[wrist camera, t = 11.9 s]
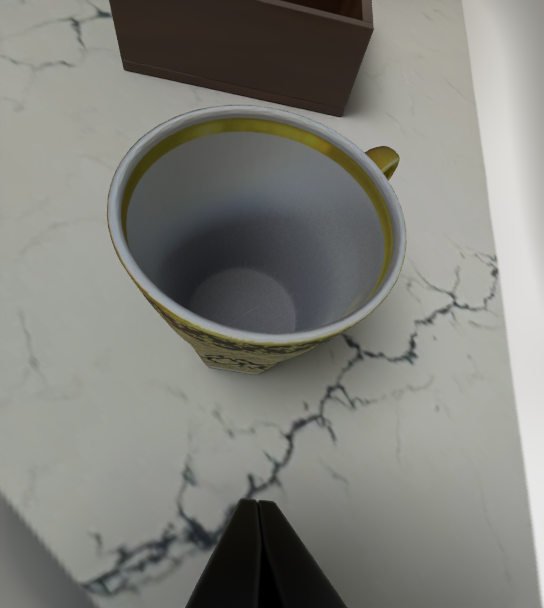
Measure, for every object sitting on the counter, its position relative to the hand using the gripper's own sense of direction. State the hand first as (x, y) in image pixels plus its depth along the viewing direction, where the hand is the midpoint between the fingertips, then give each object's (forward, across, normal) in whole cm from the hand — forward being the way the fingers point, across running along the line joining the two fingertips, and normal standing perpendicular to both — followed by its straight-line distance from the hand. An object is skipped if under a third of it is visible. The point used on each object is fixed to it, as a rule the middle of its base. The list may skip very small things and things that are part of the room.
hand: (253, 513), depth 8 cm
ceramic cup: (+14, 0, 0) cm, 14 cm away
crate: (+33, -4, +20) cm, 39 cm away
